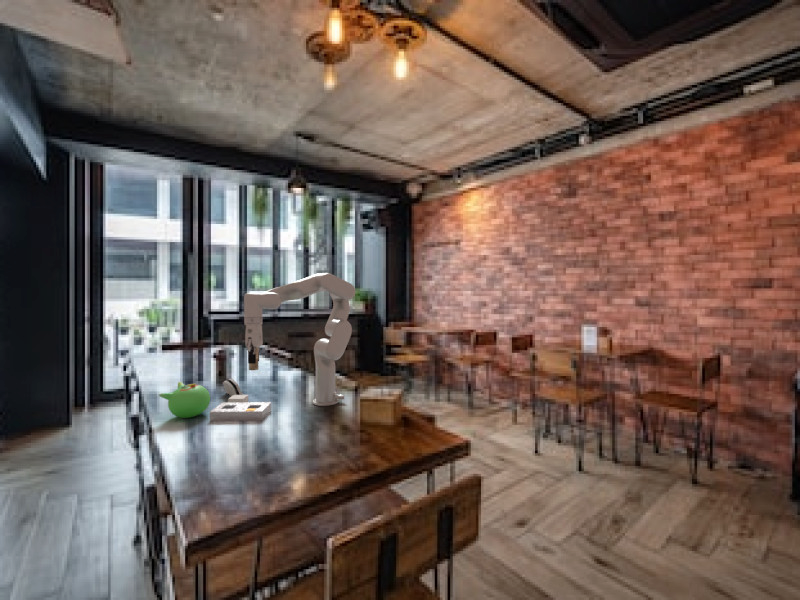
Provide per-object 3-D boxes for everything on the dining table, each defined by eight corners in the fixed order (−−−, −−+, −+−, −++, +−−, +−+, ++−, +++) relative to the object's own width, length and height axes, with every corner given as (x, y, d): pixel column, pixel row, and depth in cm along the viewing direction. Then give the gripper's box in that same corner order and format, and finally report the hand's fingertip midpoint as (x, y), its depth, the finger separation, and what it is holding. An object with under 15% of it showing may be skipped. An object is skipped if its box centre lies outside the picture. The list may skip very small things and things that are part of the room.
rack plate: (271, 410, 191) (271, 401, 191) (262, 420, 177) (262, 411, 177) (222, 411, 191) (222, 402, 191) (209, 421, 177) (209, 411, 177)
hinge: (246, 398, 213) (239, 380, 211) (237, 402, 210) (230, 385, 208) (235, 391, 226) (229, 375, 224) (227, 395, 223) (220, 379, 221)
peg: (259, 368, 186) (259, 346, 185) (256, 370, 182) (256, 347, 181) (250, 368, 186) (250, 346, 185) (247, 370, 182) (247, 347, 181)
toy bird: (198, 423, 174) (197, 388, 174) (157, 423, 174) (157, 388, 174) (216, 410, 192) (216, 378, 192) (180, 410, 192) (179, 378, 192)
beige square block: (248, 405, 200) (248, 394, 200) (243, 409, 194) (243, 398, 193) (233, 405, 200) (233, 394, 200) (228, 409, 193) (228, 398, 193)
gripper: (256, 322, 175) (256, 366, 175) (267, 319, 191) (267, 359, 192) (238, 322, 174) (238, 366, 175) (251, 319, 191) (251, 359, 192)
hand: (253, 362), depth 183 cm, fingers closed on peg, 4 cm apart
